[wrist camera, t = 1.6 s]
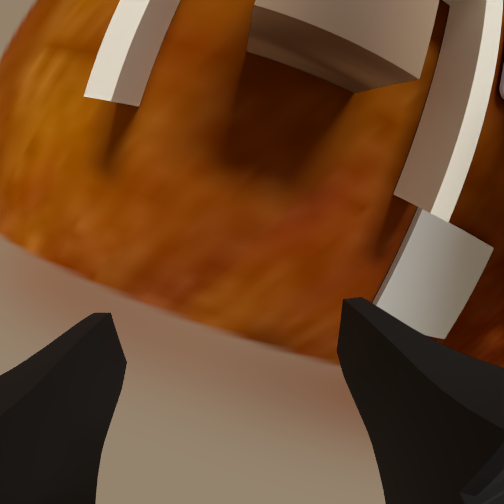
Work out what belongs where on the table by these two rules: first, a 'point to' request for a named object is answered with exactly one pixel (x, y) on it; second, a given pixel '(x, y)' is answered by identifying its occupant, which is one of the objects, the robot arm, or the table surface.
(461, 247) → the mat
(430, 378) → the robot arm
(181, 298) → the table surface
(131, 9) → the cream u-shaped arch
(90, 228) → the table surface
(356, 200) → the table surface
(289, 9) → the block
